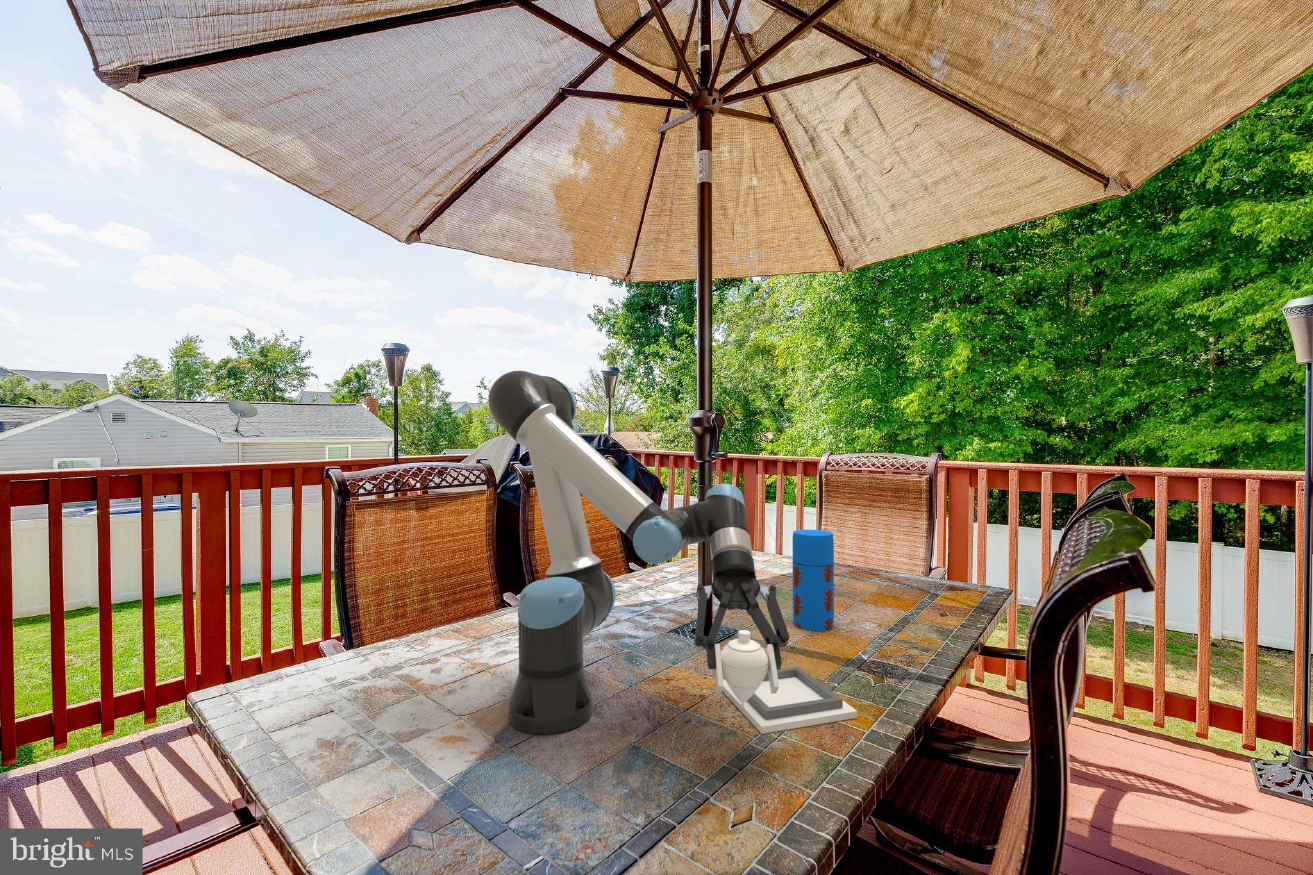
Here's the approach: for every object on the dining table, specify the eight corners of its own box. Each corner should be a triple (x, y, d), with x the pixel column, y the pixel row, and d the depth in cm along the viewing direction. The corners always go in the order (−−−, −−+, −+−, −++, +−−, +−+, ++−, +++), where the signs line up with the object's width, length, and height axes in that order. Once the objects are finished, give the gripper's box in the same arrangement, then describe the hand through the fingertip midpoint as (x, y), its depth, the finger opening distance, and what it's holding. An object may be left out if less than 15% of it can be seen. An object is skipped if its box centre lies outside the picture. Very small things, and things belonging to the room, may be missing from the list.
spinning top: (708, 707, 86) (709, 630, 86) (738, 692, 92) (739, 620, 92) (748, 726, 81) (749, 644, 81) (777, 708, 86) (778, 632, 86)
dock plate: (761, 733, 93) (761, 717, 93) (717, 686, 112) (717, 672, 112) (857, 717, 99) (857, 702, 99) (800, 674, 117) (800, 662, 117)
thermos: (784, 621, 152) (784, 531, 152) (815, 616, 156) (814, 528, 157) (811, 634, 142) (810, 537, 142) (842, 628, 146) (842, 534, 147)
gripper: (784, 571, 102) (809, 699, 86) (673, 569, 101) (678, 698, 85) (792, 548, 97) (821, 680, 80) (676, 546, 96) (681, 679, 80)
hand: (747, 689), depth 83 cm, fingers closed on spinning top, 8 cm apart
